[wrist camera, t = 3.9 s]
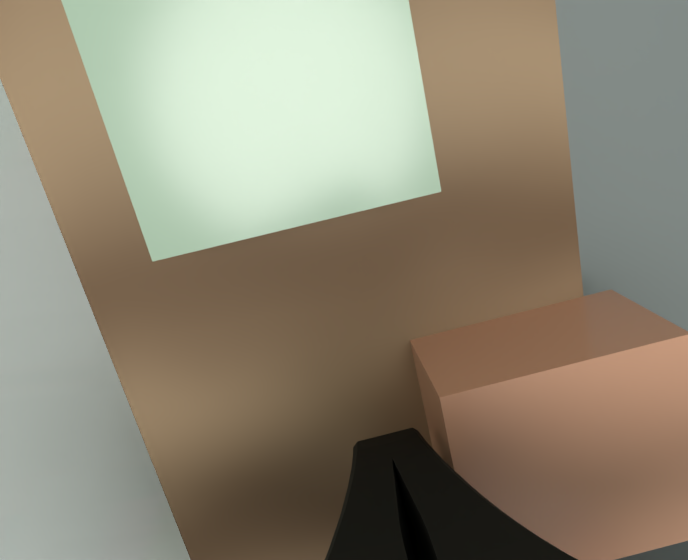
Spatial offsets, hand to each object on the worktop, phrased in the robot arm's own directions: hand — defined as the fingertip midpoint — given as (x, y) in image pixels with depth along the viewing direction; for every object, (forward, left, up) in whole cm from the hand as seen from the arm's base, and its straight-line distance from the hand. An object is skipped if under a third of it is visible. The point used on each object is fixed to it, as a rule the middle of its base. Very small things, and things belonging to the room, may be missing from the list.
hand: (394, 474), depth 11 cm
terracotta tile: (0, -3, -1) cm, 4 cm away
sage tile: (+8, +1, -1) cm, 8 cm away
